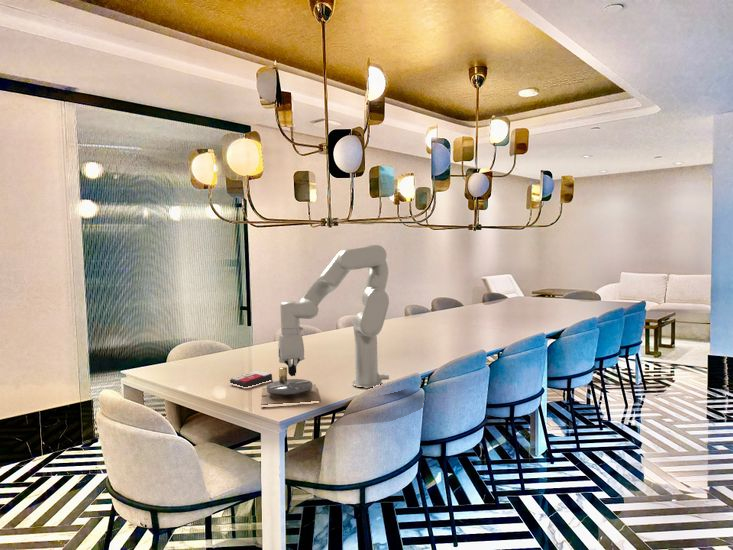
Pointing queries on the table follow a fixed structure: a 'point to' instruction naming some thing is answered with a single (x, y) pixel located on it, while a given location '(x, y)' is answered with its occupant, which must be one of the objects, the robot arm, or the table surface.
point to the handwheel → (288, 385)
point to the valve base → (289, 397)
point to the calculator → (251, 378)
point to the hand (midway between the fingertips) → (292, 375)
